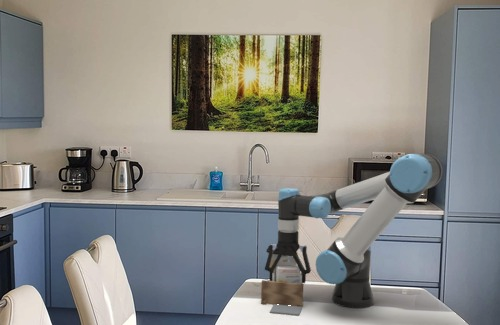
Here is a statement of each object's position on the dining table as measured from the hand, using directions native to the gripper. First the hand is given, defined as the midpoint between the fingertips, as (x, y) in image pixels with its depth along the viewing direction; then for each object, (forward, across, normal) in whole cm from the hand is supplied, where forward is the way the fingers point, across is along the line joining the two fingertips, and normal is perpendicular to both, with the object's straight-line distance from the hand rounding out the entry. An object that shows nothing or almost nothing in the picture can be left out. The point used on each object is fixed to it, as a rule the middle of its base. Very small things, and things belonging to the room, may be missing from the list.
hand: (287, 290), depth 201 cm
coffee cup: (+3, +7, -20) cm, 21 cm away
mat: (+3, -2, +12) cm, 13 cm away
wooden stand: (+3, +1, +6) cm, 7 cm away
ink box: (+3, 0, 0) cm, 3 cm away
